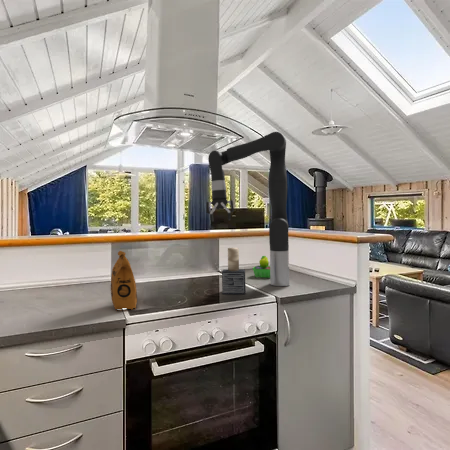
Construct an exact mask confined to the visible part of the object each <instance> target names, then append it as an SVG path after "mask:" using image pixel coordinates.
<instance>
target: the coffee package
mask: <svg viewBox="0 0 450 450" xmlns="http://www.w3.org/2000/svg"><path fill="white" fill-rule="evenodd" d="M126 255H127V254H126V252H125V251H123V250H119V251H118V252H117V256H118V258H117V260H116V262H115V263H114V265H113V267H112V270H111V278H110V295H111V302H112V306H113V307H114V309H115V310H116V309H122V308H127V309H131V310H134V309H133V308H135V309H137V303H138V292H137V290H138V289H137V282H136V279H135V275H134V272H133V268H132V267H131V263H130V261H129V260H128V258H127V257H126Z"/></svg>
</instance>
